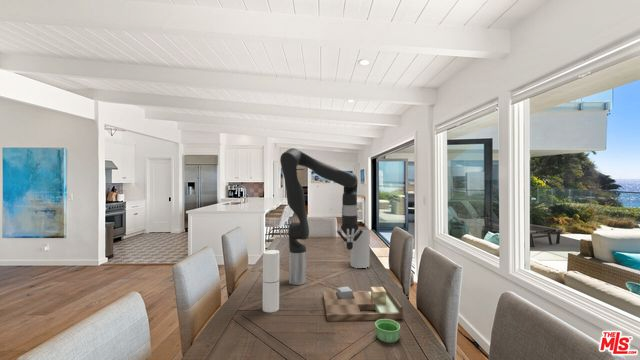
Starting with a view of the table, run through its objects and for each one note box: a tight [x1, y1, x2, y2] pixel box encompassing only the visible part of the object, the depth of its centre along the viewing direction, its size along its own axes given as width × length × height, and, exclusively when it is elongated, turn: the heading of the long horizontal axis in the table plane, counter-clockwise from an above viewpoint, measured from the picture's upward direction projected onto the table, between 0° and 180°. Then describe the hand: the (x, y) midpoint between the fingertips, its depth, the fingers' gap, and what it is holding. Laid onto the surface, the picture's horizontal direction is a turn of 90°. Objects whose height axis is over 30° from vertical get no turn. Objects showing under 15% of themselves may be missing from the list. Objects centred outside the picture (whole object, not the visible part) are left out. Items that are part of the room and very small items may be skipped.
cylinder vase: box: [350, 226, 371, 269], centre depth 185 cm, size 12×12×25 cm
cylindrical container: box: [262, 249, 280, 313], centre depth 122 cm, size 7×7×25 cm
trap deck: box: [322, 285, 404, 322], centre depth 125 cm, size 31×24×5 cm
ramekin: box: [374, 319, 401, 343], centre depth 101 cm, size 9×9×4 cm
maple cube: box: [370, 286, 386, 304], centre depth 125 cm, size 6×6×6 cm
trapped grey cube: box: [336, 286, 354, 299], centre depth 131 cm, size 6×6×6 cm
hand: (349, 249), depth 135 cm, fingers closed
